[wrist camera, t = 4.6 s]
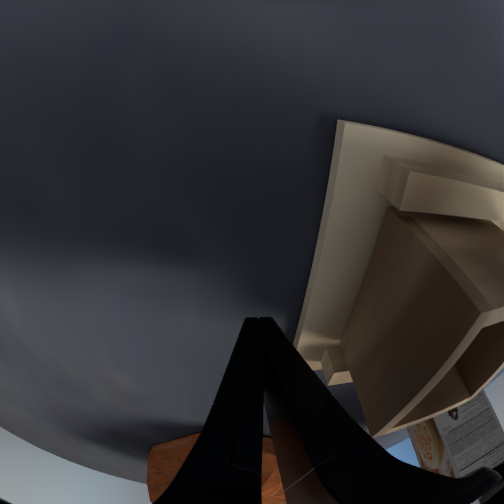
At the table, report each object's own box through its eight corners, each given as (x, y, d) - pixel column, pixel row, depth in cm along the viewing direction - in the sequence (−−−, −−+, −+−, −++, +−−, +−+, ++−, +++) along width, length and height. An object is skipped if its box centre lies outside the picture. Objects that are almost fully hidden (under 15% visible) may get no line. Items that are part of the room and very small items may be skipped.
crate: (487, 217, 9) (559, 288, 5) (432, 328, 13) (471, 399, 9) (387, 206, 9) (480, 313, 5) (339, 343, 13) (371, 438, 8)
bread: (285, 474, 36) (293, 527, 27) (134, 448, 24) (131, 530, 15) (370, 444, 31) (386, 505, 22) (228, 417, 19) (239, 547, 10)
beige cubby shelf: (565, 195, 10) (590, 216, 7) (504, 319, 17) (521, 344, 14) (337, 119, 8) (386, 142, 5) (287, 363, 14) (297, 412, 12)
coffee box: (446, 398, 25) (485, 501, 12) (402, 419, 25) (436, 530, 12) (471, 361, 20) (526, 490, 6) (418, 388, 20) (467, 532, 7)
